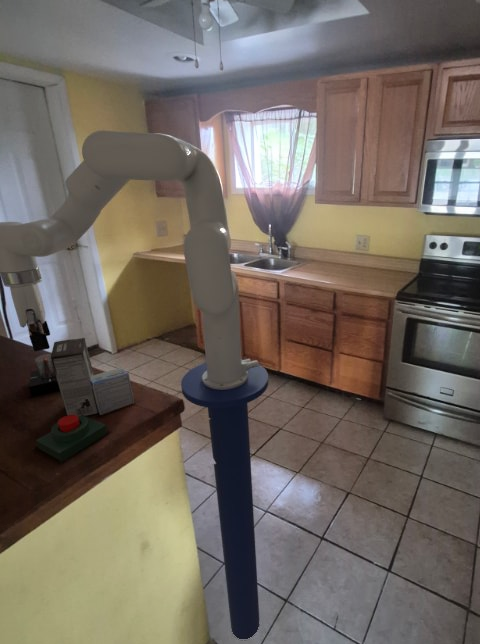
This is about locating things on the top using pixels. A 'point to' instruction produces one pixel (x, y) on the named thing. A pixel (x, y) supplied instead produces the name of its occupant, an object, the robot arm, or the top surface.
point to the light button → (68, 423)
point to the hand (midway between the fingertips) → (42, 342)
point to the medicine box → (112, 390)
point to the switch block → (71, 438)
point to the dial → (45, 366)
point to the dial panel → (42, 384)
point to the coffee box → (74, 376)
